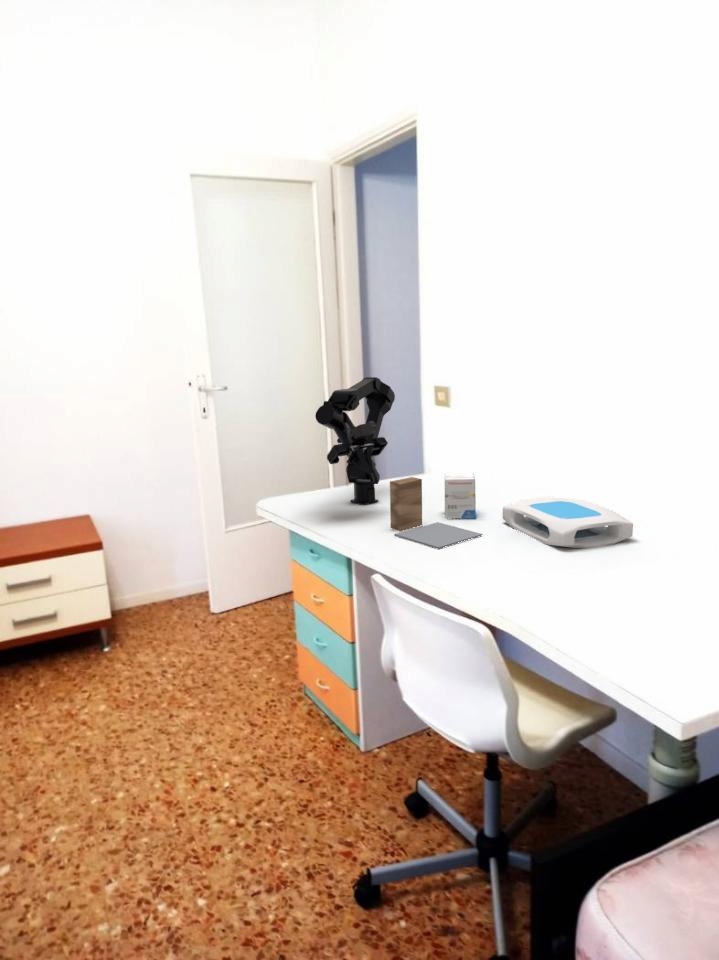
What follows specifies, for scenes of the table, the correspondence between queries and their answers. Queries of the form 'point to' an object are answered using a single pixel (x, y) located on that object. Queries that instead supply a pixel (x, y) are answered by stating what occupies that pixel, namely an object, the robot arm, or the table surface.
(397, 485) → the walnut domino block
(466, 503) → the ink box
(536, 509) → the white blue plastic platform
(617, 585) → the table surface
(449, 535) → the mat
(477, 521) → the table surface
